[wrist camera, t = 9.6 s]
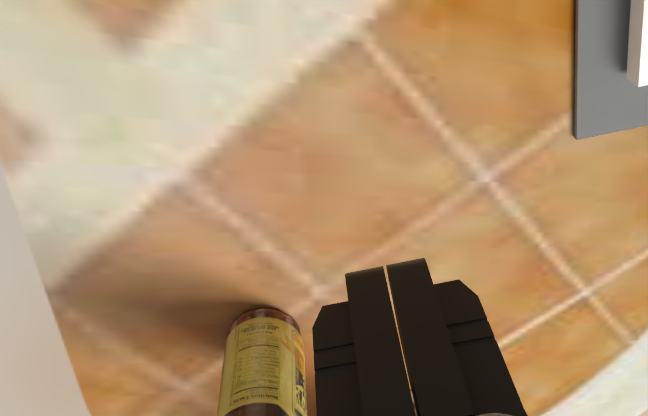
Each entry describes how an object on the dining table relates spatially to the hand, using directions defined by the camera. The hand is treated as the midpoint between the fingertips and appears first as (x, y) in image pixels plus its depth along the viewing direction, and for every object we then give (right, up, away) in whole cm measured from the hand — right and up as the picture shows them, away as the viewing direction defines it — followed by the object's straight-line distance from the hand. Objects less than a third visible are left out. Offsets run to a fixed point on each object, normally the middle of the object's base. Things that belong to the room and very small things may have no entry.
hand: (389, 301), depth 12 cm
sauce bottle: (-6, -8, +39) cm, 40 cm away
